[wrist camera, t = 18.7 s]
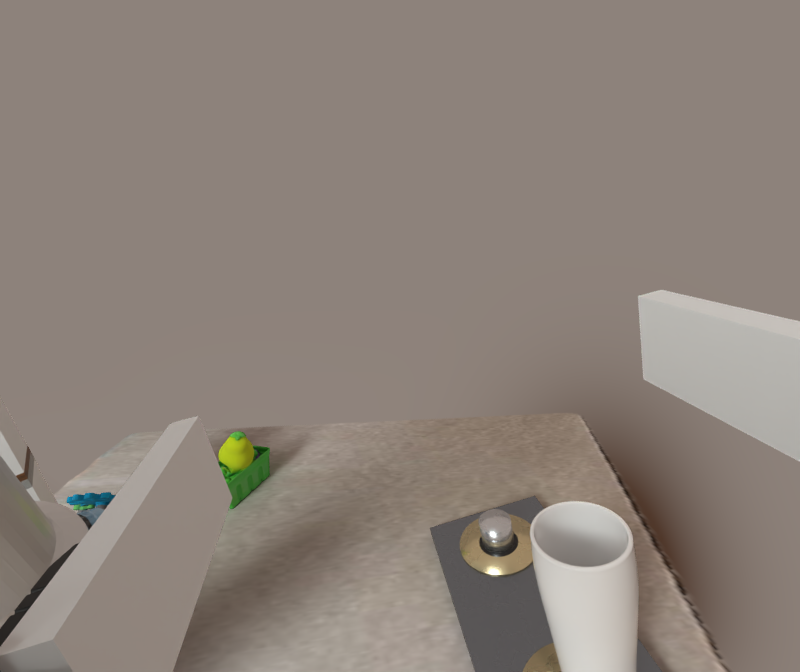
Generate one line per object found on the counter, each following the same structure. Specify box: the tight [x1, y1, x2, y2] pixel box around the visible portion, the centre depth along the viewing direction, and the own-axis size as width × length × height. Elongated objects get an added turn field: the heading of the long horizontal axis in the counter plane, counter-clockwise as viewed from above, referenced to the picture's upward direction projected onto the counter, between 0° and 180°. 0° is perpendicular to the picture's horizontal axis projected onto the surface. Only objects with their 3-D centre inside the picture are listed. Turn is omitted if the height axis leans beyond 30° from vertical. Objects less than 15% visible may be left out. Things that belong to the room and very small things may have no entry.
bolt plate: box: [430, 496, 662, 672], centre depth 42 cm, size 28×14×4 cm, turn 10°
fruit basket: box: [218, 431, 270, 509], centre depth 73 cm, size 11×9×11 cm
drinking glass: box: [530, 501, 639, 672], centre depth 32 cm, size 7×7×15 cm
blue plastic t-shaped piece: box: [67, 492, 116, 513], centre depth 74 cm, size 11×6×10 cm
